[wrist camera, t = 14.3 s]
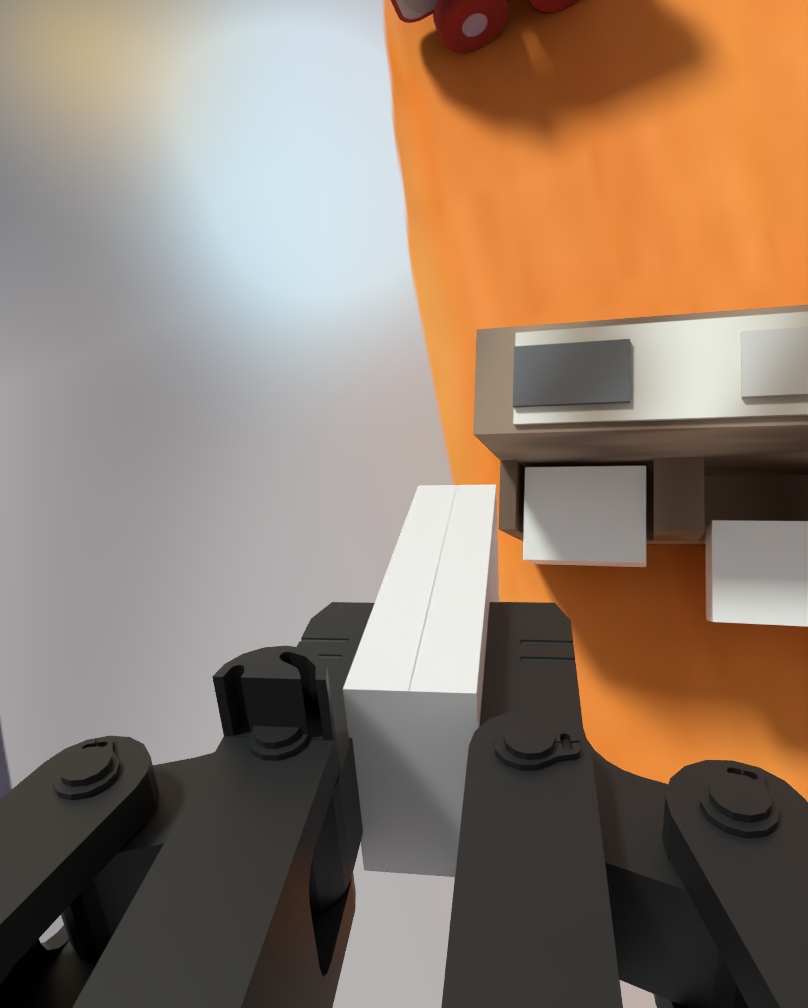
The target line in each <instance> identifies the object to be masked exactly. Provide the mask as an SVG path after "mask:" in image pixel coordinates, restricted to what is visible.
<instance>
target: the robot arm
mask: <svg viewBox="0 0 808 1008" xmlns="http://www.w3.org/2000/svg"><path fill="white" fill-rule="evenodd" d="M213 682H214V686H215V692H216V697H217V702H218V707H219V713H220V718H221V722H222V728H223V733H224V737H223V739H222V741H221V742H220V744H219V746H218V748H217V750H216V752H214V753H211V754H207V755H203V756H200V757H196V758H191V759H186V760H181V761H175V762H169V763H165V764H159V765H152V761H151V757H150V755H149V753H148V751H147V749H146V747H145V746H144V744H142V743H140V742H138V741H136V740H134V739H132V738H130V737H120V736H106V737H101V738H95V739H89V740H86V741H83V742H81V743H78V744H76V745H73V746H71V747H68V748H66V749H64V750H63V751H61V752H60V753H58V754H56V755H55V756H53V757H52V758H50V759H49V760H47V761H46V762H44V763H43V764H42V765H41V766H40V767H38V768H37V769H36V770H35V771H34V772H32V773H31V774H30V775H29V776H28V777H26V778H25V779H24V780H23V781H22V782H20V783H19V784H18V785H17V786H16V787H14V788H13V789H12V790H11V791H10V792H8V793H7V794H6V795H5V796H4V797H2V798H1V799H0V1008H332V1007H333V1002H334V998H335V994H336V990H337V985H338V981H339V977H340V973H341V968H342V964H343V960H344V955H345V951H346V947H347V943H348V938H349V934H350V930H351V925H352V921H353V917H354V913H355V885H354V876H353V869H354V866H355V861H356V858H357V853H358V850H359V846H360V842H361V847H362V856H363V864H364V870H368V871H381V872H394V873H408V874H422V875H436V876H449V877H455V883H454V893H453V903H452V912H451V921H450V932H449V941H448V951H447V960H446V970H445V980H444V989H443V999H442V1008H623V1005H622V998H621V989H620V981H619V980H622V981H624V982H627V983H629V984H631V985H634V986H636V987H639V988H641V989H644V990H646V991H648V992H651V993H653V994H654V997H655V1003H656V1006H657V1008H808V802H807V801H806V800H805V799H804V798H803V797H802V796H801V795H800V794H799V793H798V792H797V791H795V790H794V789H793V788H792V787H791V786H790V785H789V784H788V783H787V782H785V781H784V780H782V779H780V778H778V777H776V776H774V775H772V774H771V773H769V772H767V771H765V770H763V769H761V768H759V767H755V766H751V765H747V764H743V763H739V762H736V761H727V760H705V761H701V762H698V763H694V764H691V765H687V766H684V767H683V768H682V769H681V770H680V771H679V772H677V773H676V774H675V775H674V776H673V777H672V778H670V781H669V785H668V784H665V783H661V782H658V781H654V780H651V779H647V778H644V777H640V776H638V775H635V774H632V773H630V772H627V771H624V770H622V769H620V768H618V767H617V766H615V765H613V764H612V763H610V762H608V761H606V760H605V759H604V758H603V757H602V756H601V755H600V754H598V753H597V752H596V751H595V750H594V749H593V747H592V746H591V744H590V743H589V741H588V740H587V739H586V735H585V732H584V729H583V723H582V715H581V706H580V698H579V689H578V680H577V672H576V663H575V655H574V646H573V637H572V629H571V620H570V619H569V618H568V617H567V616H566V615H565V614H564V613H563V612H562V610H561V609H560V608H559V607H558V606H557V605H556V604H555V603H527V602H499V584H498V543H497V502H496V485H429V486H418V488H417V491H416V493H415V496H414V499H413V502H412V504H411V507H410V510H409V513H408V515H407V518H406V521H405V523H404V526H403V528H402V531H401V534H400V537H399V539H398V542H397V545H396V547H395V550H394V553H393V555H392V558H391V561H390V563H389V566H388V569H387V571H386V574H385V577H384V580H383V582H382V585H381V588H380V591H379V593H378V596H377V598H376V601H375V603H344V602H343V603H342V602H340V603H339V602H332V603H331V604H329V605H328V606H327V607H326V608H324V609H323V610H322V611H320V612H319V613H318V614H317V615H315V616H314V617H313V618H312V619H311V620H310V622H309V624H308V626H307V628H306V630H305V632H304V634H303V636H302V640H301V642H299V644H298V646H297V647H291V646H277V647H265V648H261V649H258V650H254V651H251V652H248V653H245V654H242V655H240V656H238V657H237V658H235V659H233V660H231V661H229V662H228V663H226V664H224V666H222V667H221V668H220V670H219V671H217V673H216V674H215V675H214V676H213ZM60 915H61V916H62V919H63V922H64V926H63V927H62V928H61V929H60V930H59V931H58V932H57V933H56V934H55V935H54V936H52V937H51V938H50V939H49V940H47V941H46V942H45V943H40V941H39V938H40V936H41V935H42V934H43V933H44V932H45V931H46V930H47V929H48V928H49V927H50V925H52V923H53V922H54V921H55V920H56V919H57V918H58V917H59V916H60Z"/></svg>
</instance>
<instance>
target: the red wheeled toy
mask: <svg viewBox="0 0 808 1008" xmlns="http://www.w3.org/2000/svg"><path fill="white" fill-rule="evenodd" d="M577 1H578V0H529V2H530V3H531V4H532V5H533V6H534V7H535V8H536V9H538V10H540V11H544V12H552V11H558V10H561V9H564V8H566V7H569V6H570V5H572V4H574V3H575V2H577ZM391 2H392V4H393V6H394V8H395V11H396V13H397V15H398V17H399V18H400V20H402V21H404V22H408V23H411V22H416V21H420V20H422V19H424V18H425V17H427V16H429V15H431V14H433V18H434V23H435V26H436V29H437V32H438V35H439V37H440V40H441V41H442V43H443V44H444V45H445V46H446V47H448V48H449V49H451V50H453V51H456V52H469V51H473V50H476V49H479V48H481V47H483V46H484V45H486V44H488V43H489V42H490V41H491V40H493V39H494V38H495V37H496V36H497V35H498V34H499V33H500V31H501V30H502V29H503V27H504V25H505V22H506V19H507V15H508V4H507V0H391Z"/></svg>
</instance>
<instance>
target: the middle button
mask: <svg viewBox="0 0 808 1008" xmlns="http://www.w3.org/2000/svg"><path fill="white" fill-rule="evenodd" d="M705 542H706V620H708V621H712V622H726V623H747V624H767V625H788V626H808V521H725V520H712V521H711V522H710V524H709V525H708V527H707V528H706V529H705Z"/></svg>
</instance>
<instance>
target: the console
mask: <svg viewBox="0 0 808 1008" xmlns="http://www.w3.org/2000/svg"><path fill="white" fill-rule="evenodd" d="M474 435H475V436H476V437H477V438H478V439H479V440H480V441H481V442H482V443H483V444H484V445H485V446H486V447H487V448H488V449H489V450H490V451H491V452H492V453H493V454H494V455H495V456H497V457H498V458H499V459H500V460H501V467H500V504H499V530H501V531H503V532H505V533H507V534H509V535H511V536H513V537H515V538H517V539H519V540H521V541H523V536H524V492H525V467H588V466H646V476H647V544H683V545H706V542H705V529H706V528H707V527H708V525H709V524H710V522H711V521H712V520H725V521H808V305H800V306H786V307H773V308H760V309H746V310H733V311H720V312H706V313H693V314H680V315H667V316H653V317H640V318H627V319H613V320H600V321H587V322H574V323H560V324H547V325H534V326H520V327H507V328H494V329H481V330H477V340H476V372H475V404H474Z"/></svg>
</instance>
